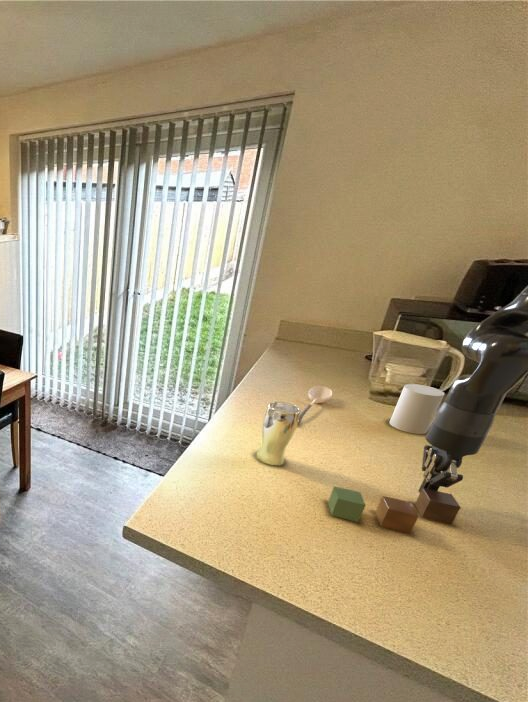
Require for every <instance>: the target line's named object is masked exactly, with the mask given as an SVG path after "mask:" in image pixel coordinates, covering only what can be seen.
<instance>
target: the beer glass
mask: <svg viewBox="0 0 528 702" xmlns="http://www.w3.org/2000/svg"><path fill="white" fill-rule="evenodd" d="M300 414H301V409H300V407H298V406H297V405H295V404H292V403H289V402H285V401H271V402H269V403H268V406H267V409H266V411H265V414H264V418H263V422H262V433H261V443H260V447H259V448H258V451H257V452H256V458H257V459H258V460H259V461H260V462H262V463H264V464H267V465H270V466H281V465H283V464H284V463H285V455H286V454H285V453H286V450H287V447H288V445H289V444H290V442H291V440H292V438H293V437H294V435H295V434H296V433H295V432H296V430H297V428H298V425H299V424H298V421H299V415H300ZM297 424H298V425H297Z"/></svg>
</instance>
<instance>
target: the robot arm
mask: <svg viewBox="0 0 528 702" xmlns="http://www.w3.org/2000/svg"><path fill="white" fill-rule="evenodd" d="M527 334H528V285H526V286H525V288H523V290H521V292H520V293H519V294H518V295H517V296H516V297H515V298H514V299H513V301H511V302H510V303H508V304H506V305H505V306H503V307H501V308H500V309H498V310H497V311H495V312H494V313H492V314H491V315H489V316H488V317H487V318H485V319H484V320H482V321H481V322H479V323H478V324H477V325H476V326H474V327H473V328H472V329H471V330H469V332H468V333H467V334H466V335H465V337H464V339H463V341H462V343H461V352H462V353H463V355H464V356H465V357H466V358H468V359H470V360H471V361H473V362H476V363H478V366H477V368H476V369H475V370H474V372H473V373H472V374H469V373H468V374H462V375H459V376H458V377H456V379H454V381H453V382H452V383H451V386H450V388H449V390H448V392H447V395H446V397H445V399H444V401H443V403H442V404H440V406H439V407H438V409H437V412H436V414H435V416H434V418H433V420H432V422H431V425H430V427H429V429H428V431H427V433H426V435H425V440H426V442H427V443H428V444H425V445H424V446H423V453H422V454H423V455H422V463H421V471H422V472H423V474H422V476H423V480H422V482H421V484H420V486H419V488H418V493H419V494H420V492H421V490H422V488H426V489H430V490H435V491H439V489H440V487H442V488H446V489H447V488H450V487H452V486H453V485H456V484H458V483H459V482H461V481H463V479H464V475H463V474H460V473H458V468H460V467H461V466H462V464H463V458H464V457H466V456H467V457H468V456H473V455H476V454H478V453H479V450H480V449H481V448H482V445H483V443H484V441H485V439H486V437H487V436H488V434H489V432H490V430H491V428H492V426H493V424H494V422H495V418H496V415H497V412H498V411H499V409H500V407H501V405H502V403H503V402H504V399H505V398H506V396H507V394H508V393H509V392H510V391H512V389H513V388H515V387H516V386H517V385H518V384H519V383H520V382H521V381H522V380H523V379H524V378H525V377H526V376H527V375H528V335H527Z"/></svg>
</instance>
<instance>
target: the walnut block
mask: <svg viewBox="0 0 528 702" xmlns="http://www.w3.org/2000/svg"><path fill="white" fill-rule="evenodd" d="M414 507H415V509H416V511H417V512H418V513H419V515H420V517H421V518H423V519H427V520H431V521H436V522H437V523H443V524H447V525H452V524H453V523H454V521H455V519H456V517H457V515H458V513H459V511H460V509H461V508H462V507H461V506H460V504H459V502H458V501H457V499H455V497H454V496H453V494H452V493H447V492H443V491H439V490H438V491H435V490H430V489H426V488H422V490H421V492H420V493H419V495H418V496H417V498H416V501H415V503H414Z"/></svg>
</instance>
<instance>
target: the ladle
mask: <svg viewBox="0 0 528 702" xmlns="http://www.w3.org/2000/svg"><path fill="white" fill-rule="evenodd" d="M332 397H333V391H332V389H330V388H329V387H326V386H324V385H323V386H321V385H318V386H317V385H316V386H313V387H311V388H309V391H308V398H309V400H310V401H311V402H310V403H309V404H308V405H306V406H305V408H304V409H303V410H302V411H301V412H300V415H299V420H298V424H297V426H299V425H300V423H301V421H302V419H303V417H304V416H305V415H306V413H307V412H308V411H309V410H310V409H311V408H312V406H313V405H314V404H315V403H316V404H323V403H326V402H327V401H329V400H330V399H331V398H332Z"/></svg>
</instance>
